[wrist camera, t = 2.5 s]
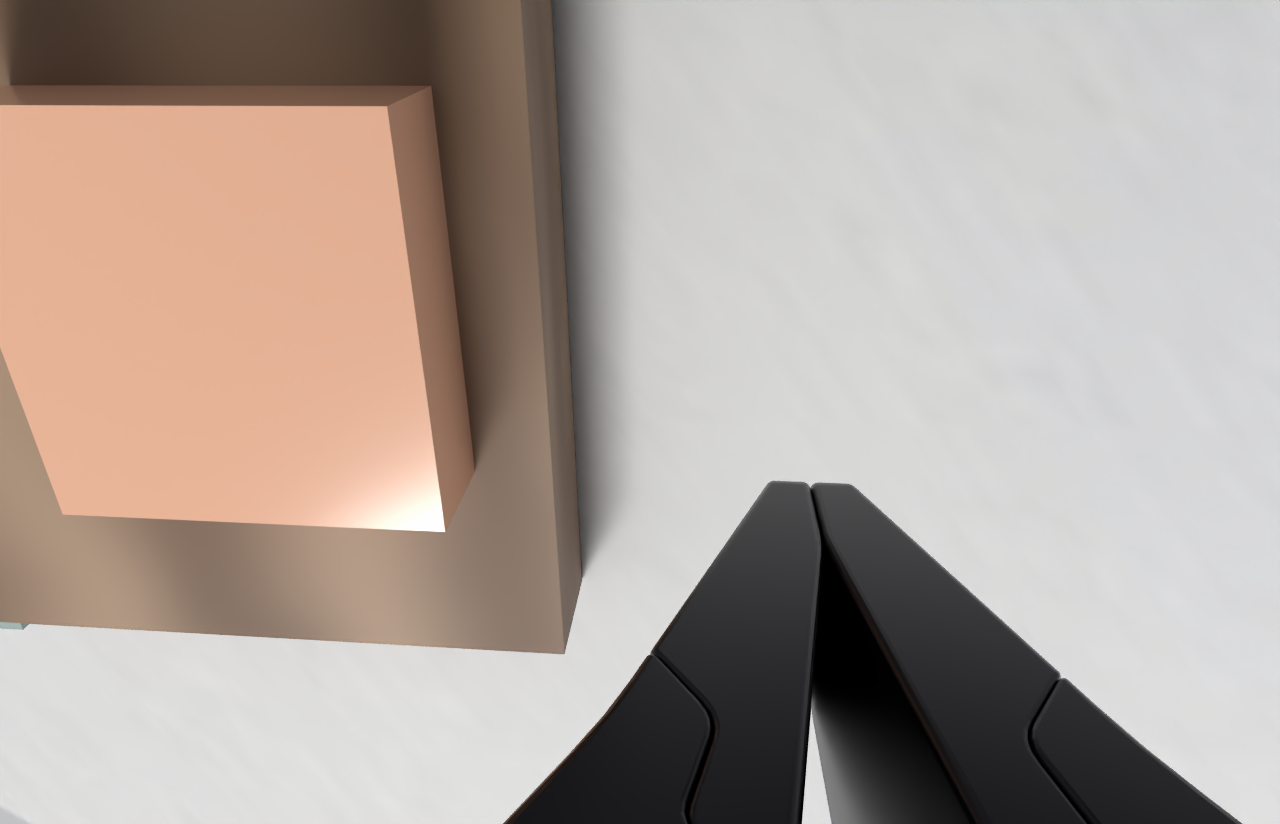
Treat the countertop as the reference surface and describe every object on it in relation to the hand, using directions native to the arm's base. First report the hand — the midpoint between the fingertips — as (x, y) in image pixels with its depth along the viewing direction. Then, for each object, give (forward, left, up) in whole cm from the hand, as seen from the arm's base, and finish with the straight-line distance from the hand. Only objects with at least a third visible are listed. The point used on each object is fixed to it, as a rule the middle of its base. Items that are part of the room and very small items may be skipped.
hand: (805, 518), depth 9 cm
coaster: (+9, 0, -7) cm, 11 cm away
